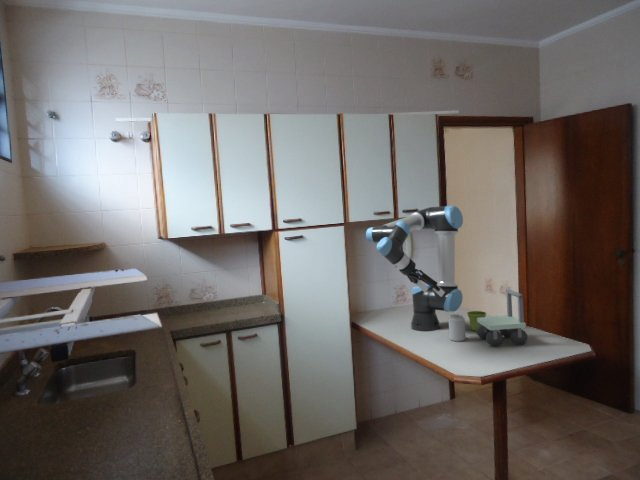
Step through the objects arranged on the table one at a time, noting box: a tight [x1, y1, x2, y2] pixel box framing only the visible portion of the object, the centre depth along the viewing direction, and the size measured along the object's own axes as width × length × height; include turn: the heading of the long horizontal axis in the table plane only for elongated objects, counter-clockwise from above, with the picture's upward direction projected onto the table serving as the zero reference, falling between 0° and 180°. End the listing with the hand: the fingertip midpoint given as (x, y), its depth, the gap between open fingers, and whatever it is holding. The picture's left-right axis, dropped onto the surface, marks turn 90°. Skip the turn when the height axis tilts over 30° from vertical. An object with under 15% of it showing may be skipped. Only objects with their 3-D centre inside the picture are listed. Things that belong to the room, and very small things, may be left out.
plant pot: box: [466, 310, 487, 332], centre depth 235 cm, size 9×9×9 cm
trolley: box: [476, 288, 528, 348], centre depth 212 cm, size 16×18×23 cm
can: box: [447, 313, 467, 343], centre depth 220 cm, size 8×8×12 cm
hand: (434, 292), depth 216 cm, fingers open, 13 cm apart
